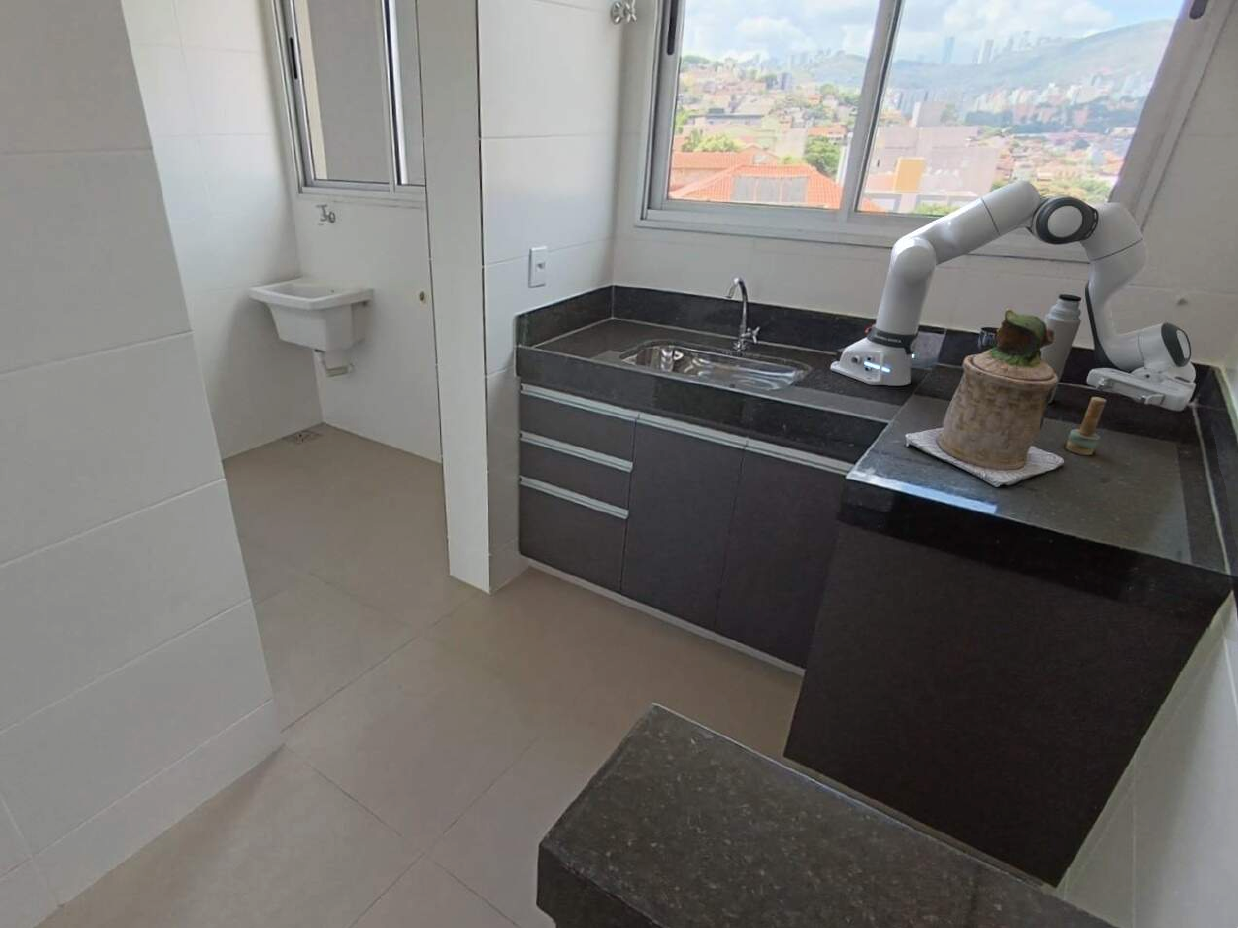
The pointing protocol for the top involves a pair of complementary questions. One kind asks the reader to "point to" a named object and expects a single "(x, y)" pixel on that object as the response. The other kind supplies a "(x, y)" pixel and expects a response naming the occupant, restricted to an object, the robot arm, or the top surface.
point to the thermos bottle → (1061, 333)
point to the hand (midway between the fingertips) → (1121, 393)
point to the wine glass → (987, 339)
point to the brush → (1087, 429)
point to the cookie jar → (999, 408)
